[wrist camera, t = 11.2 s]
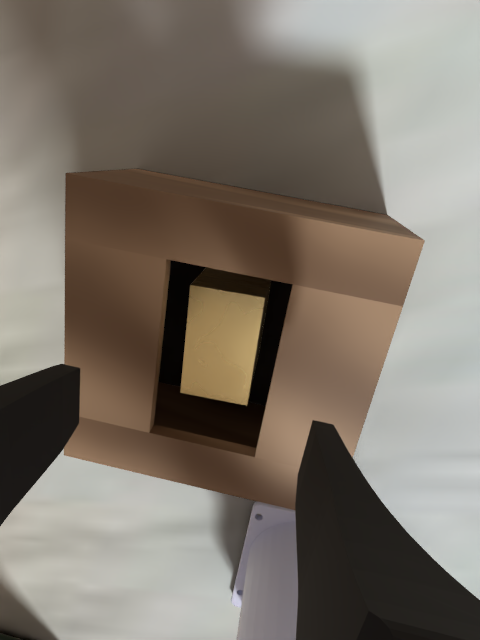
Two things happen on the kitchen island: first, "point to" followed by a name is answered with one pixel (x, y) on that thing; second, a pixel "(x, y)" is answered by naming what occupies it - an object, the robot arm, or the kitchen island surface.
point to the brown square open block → (238, 257)
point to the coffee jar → (7, 637)
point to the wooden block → (223, 335)
